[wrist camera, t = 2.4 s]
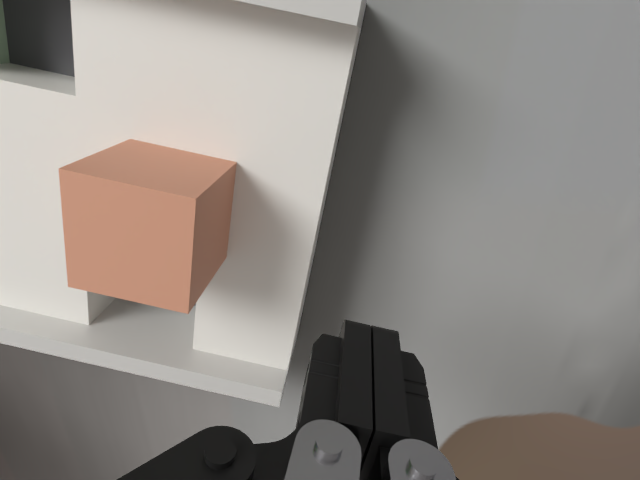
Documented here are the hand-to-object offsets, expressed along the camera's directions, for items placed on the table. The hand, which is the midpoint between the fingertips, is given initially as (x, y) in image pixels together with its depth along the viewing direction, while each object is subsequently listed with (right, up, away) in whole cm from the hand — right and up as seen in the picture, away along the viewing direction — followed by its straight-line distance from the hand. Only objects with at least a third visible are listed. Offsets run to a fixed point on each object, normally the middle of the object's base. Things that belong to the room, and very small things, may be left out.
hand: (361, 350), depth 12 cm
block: (-7, +5, +7) cm, 11 cm away
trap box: (-12, +8, +10) cm, 18 cm away
